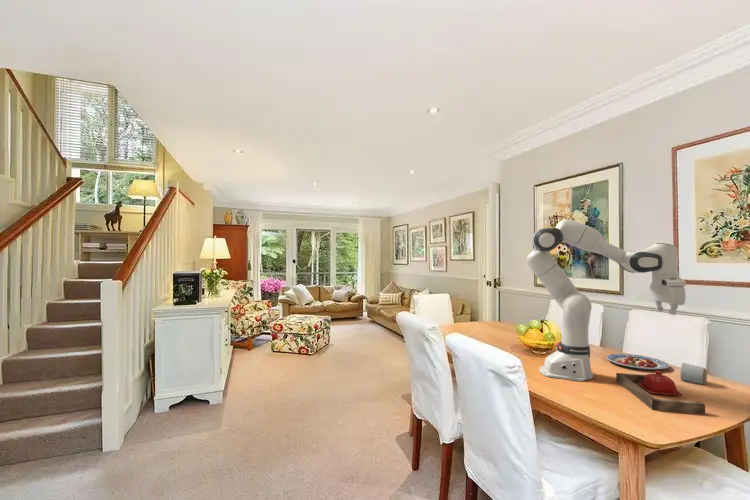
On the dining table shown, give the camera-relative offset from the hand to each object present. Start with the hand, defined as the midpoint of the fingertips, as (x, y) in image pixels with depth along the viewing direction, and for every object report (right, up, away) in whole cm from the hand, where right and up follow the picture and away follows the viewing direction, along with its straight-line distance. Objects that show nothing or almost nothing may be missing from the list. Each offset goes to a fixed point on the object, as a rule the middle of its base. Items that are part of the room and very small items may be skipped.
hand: (666, 312), depth 149 cm
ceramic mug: (+15, -31, +4) cm, 35 cm away
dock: (-14, -31, -12) cm, 36 cm away
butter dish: (-9, -32, -7) cm, 33 cm away
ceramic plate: (+8, -32, +28) cm, 44 cm away
